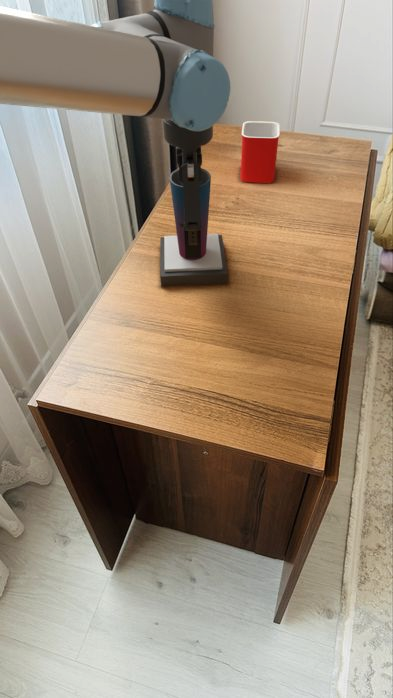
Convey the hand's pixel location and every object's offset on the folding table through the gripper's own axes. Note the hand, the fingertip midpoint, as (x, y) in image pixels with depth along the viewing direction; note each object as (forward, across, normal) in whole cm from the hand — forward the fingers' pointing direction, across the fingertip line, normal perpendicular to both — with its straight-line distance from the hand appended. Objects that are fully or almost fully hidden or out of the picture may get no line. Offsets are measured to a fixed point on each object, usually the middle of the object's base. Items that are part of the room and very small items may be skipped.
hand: (191, 234), depth 90 cm
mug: (+7, +35, -17) cm, 40 cm away
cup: (+4, 0, 0) cm, 4 cm away
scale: (+7, 0, 0) cm, 7 cm away
